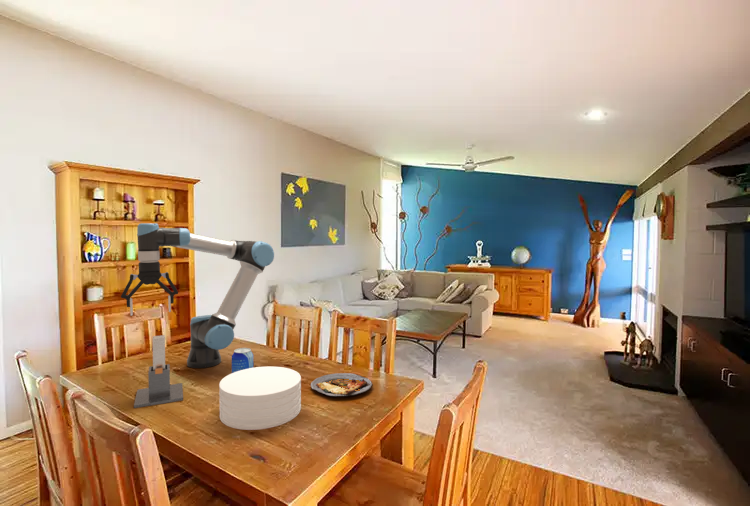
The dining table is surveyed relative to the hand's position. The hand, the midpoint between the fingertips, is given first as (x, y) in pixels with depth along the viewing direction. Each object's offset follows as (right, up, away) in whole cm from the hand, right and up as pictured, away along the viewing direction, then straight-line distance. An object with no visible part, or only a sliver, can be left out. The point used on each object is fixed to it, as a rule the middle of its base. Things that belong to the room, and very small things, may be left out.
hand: (151, 313), depth 164 cm
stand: (+8, -31, -9) cm, 33 cm away
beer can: (+38, -31, 0) cm, 49 cm away
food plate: (+78, -32, +2) cm, 84 cm away
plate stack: (+51, -32, -20) cm, 63 cm away
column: (+8, -30, -9) cm, 32 cm away
